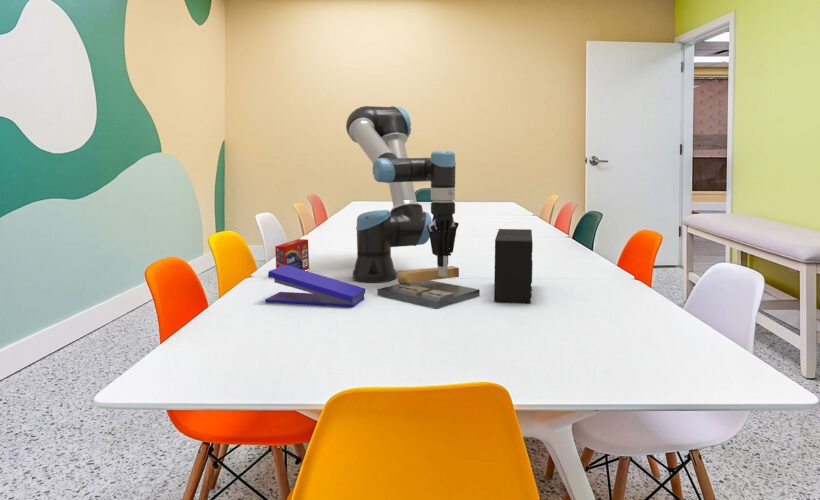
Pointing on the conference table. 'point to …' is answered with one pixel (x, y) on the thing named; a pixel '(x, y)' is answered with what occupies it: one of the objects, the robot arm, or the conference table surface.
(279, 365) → the conference table surface
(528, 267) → the speaker
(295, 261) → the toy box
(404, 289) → the server board
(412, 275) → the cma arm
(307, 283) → the stapler
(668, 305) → the conference table surface
